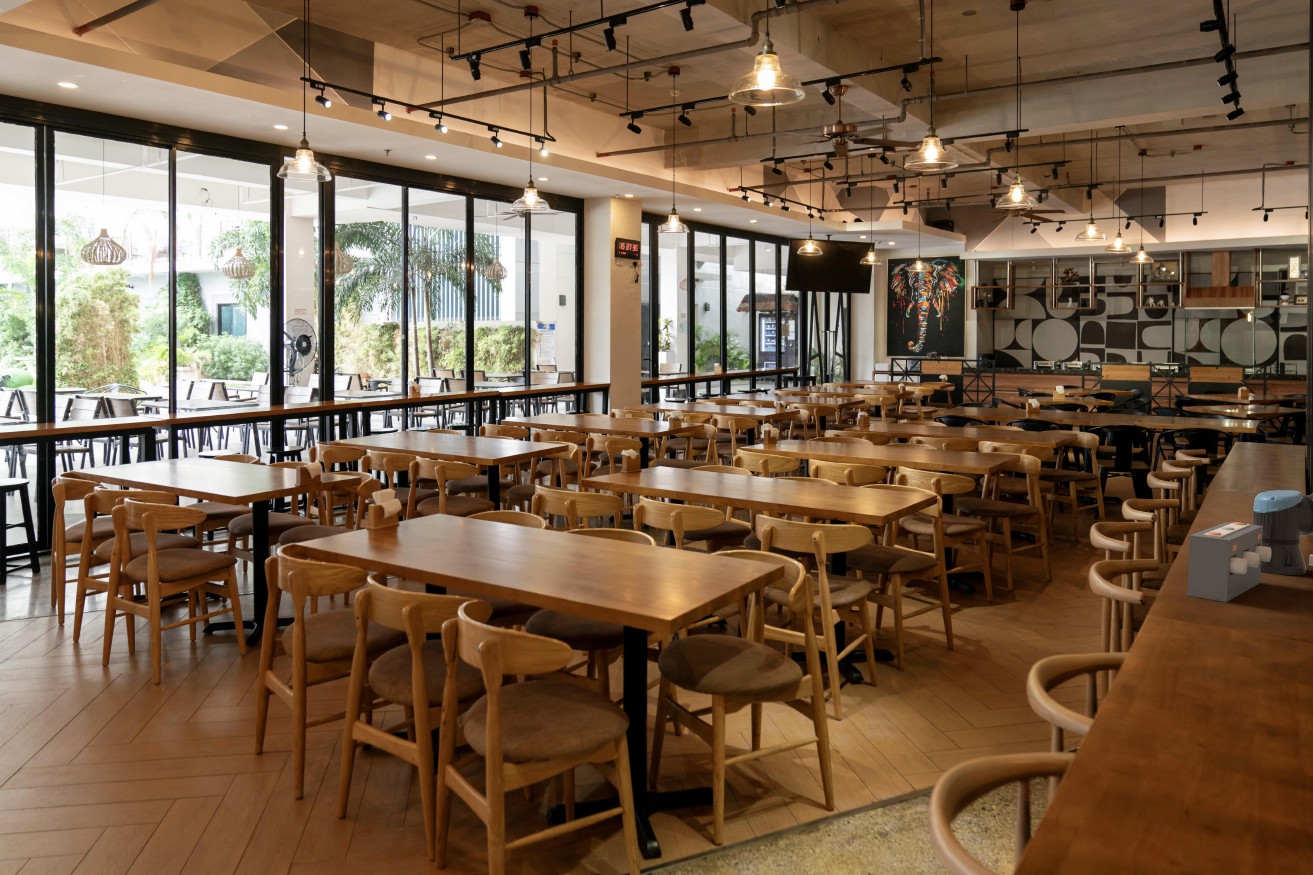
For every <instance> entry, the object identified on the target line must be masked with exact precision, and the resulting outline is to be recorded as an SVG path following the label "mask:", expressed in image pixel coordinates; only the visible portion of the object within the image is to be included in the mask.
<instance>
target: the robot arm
mask: <svg viewBox="0 0 1313 875" xmlns="http://www.w3.org/2000/svg"><path fill="white" fill-rule="evenodd" d="M1252 511H1253V517H1252V518H1253V519H1252V523H1253V524H1252V525H1258V526H1263V535H1262V546H1264V547H1270V548H1271V559H1270V561H1269V562H1265V561H1261V573H1264V574H1271V575H1281V576H1301V575H1306V573H1307V564H1306V561H1305V558H1304V554H1303V551H1302V549H1301V536H1313V492H1312V493H1311V494H1309V495H1305V494H1303V493H1302V492H1301V491H1298V490H1292V489H1291V490H1290V489H1289V490H1288V489H1285V490H1284V489H1278V490H1267V491H1263V492H1260V493H1258V494H1256V496H1255V497H1254V503H1253V506H1252ZM1308 566H1311V567H1313V554H1309V556H1308Z"/></svg>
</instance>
